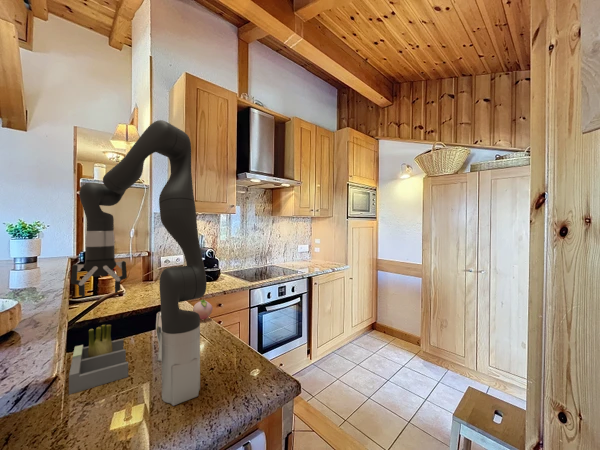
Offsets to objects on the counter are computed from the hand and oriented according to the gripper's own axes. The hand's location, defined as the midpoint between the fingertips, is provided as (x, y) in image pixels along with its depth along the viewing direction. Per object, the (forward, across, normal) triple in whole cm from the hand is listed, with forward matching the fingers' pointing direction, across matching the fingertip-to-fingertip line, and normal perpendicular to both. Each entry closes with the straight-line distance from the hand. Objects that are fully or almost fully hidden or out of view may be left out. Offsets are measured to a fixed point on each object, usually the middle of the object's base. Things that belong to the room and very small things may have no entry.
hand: (100, 294), depth 84 cm
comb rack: (+22, 0, -5) cm, 23 cm away
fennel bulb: (+22, 0, -1) cm, 22 cm away
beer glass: (+22, +18, -10) cm, 30 cm away
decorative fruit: (+22, +38, +18) cm, 48 cm away
